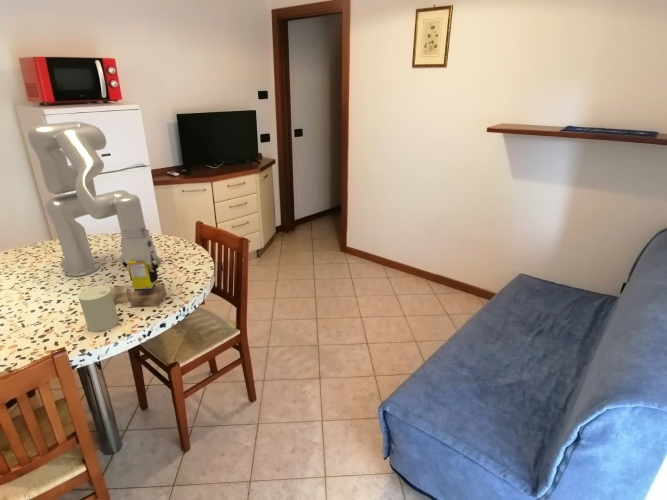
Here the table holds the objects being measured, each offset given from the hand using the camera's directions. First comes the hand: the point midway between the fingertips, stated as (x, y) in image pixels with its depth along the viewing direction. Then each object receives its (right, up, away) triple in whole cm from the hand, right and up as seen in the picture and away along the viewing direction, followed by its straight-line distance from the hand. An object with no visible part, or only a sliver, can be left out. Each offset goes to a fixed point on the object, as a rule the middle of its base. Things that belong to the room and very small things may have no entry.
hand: (144, 279), depth 142 cm
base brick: (0, -8, +3) cm, 9 cm away
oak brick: (-11, -8, +4) cm, 14 cm away
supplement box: (0, -3, +1) cm, 3 cm away
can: (-9, -14, -10) cm, 19 cm away
